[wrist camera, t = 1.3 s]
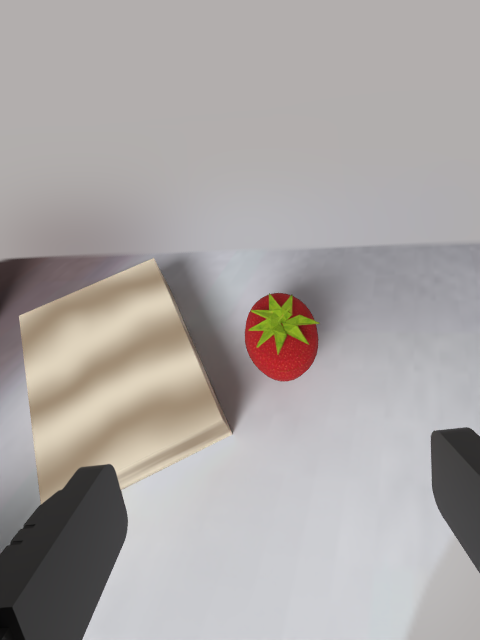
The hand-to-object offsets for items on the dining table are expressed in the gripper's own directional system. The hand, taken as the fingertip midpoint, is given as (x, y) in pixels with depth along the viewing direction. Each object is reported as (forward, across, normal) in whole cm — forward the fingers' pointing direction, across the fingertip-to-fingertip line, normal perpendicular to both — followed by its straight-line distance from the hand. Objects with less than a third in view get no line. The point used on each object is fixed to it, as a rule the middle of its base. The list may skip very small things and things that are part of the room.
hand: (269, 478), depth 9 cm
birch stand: (+23, +14, +6) cm, 28 cm away
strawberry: (+24, -1, +6) cm, 25 cm away
